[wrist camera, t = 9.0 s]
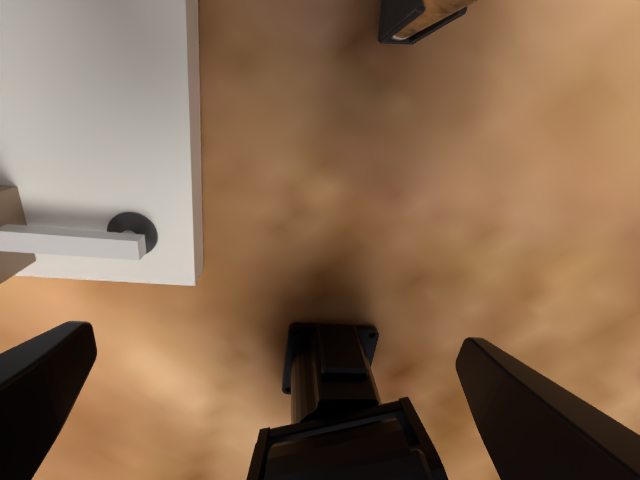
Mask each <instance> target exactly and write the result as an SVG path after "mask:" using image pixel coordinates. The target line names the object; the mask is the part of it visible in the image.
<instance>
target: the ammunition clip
mask: <svg viewBox="0 0 640 480" xmlns="http://www.w3.org/2000/svg"><path fill="white" fill-rule="evenodd" d="M475 1H477V0H382V2H381V14H380V26H379V38H378V41H379V42H380V43H393V44H414V43H416V42H417V41H419V40H421V39H422V38H424V37H426V36H428V35H429V34H431V33H433V32H434V31H436V30H438V29H439V28H441V27H443V26H445V25H446V24H448V23H450V22H452V21H453V20H455V19H457V18H459V17H460V16H462V15H464V14H465V13H466V11H467V6H468V5H470V4H472V3H474V2H475Z"/></svg>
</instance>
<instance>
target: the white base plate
mask: <svg viewBox="0 0 640 480" xmlns="http://www.w3.org/2000/svg"><path fill="white" fill-rule="evenodd" d="M203 269H204V267H203V218H202V170H201V121H200V73H199V24H198V0H0V284H1V283H2V282H4V281H6V280H7V279H9V278H10V277H12V276H13V275H14V276H31V277H48V278H66V279H83V280H101V281H118V282H136V283H153V284H171V285H188V286H195V285H196V283H197V281H198V279H199V277H200V275H201V273H202V271H203Z"/></svg>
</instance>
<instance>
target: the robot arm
mask: <svg viewBox="0 0 640 480" xmlns="http://www.w3.org/2000/svg"><path fill="white" fill-rule="evenodd" d="M293 330H298V331H296V332H295V331H293ZM370 333H373V334H370ZM378 336H379V333H378V330H377V328H375V327H373V326H355V325H332V324H309V323H293V324H291V325H290V326H289V329H288V338H287V347H286V356H285V365H284V374H283V383H282V391H283V393H285V394H291V424H290V425H286V426H281V427H276V428H272V429H270V427H268V428H264V429H260V432H259V436H258V440H257V443H256V444H255V448H254V452H253V456H252V460H251V464H250V468H249V472H248V476H247V480H448V477H447V475H446V472H445V469H444V467H443V464H442V462H441V460H440V457H439V455H438V453H437V451H436V449H435V447H434V445H433V443H432V441H431V439H430V438H429V436H428V434H427V432H426V430H425V428H424V426H423V424H422V422H421V420H420V419H419V417H418V415H417V413H416V411H415V409H414V407H413V405H412V403H411V401H410V400H409V398H408V397H404V398H400V399H399V401H394V402H390V403H385V404H382V403H381V400H380V397H379V393H378V390H377V387H376V384H375V380H374V377H373V374H372V371H371V364H372V360H373V356H374V352H375V348H376V344H377V340H378ZM96 356H97V347H96V342H95V337H94V332H93V327H92V325H91V324H90V323H89V322H83V321H68V322H65V323H63V324H61V325H59V326H57V327H55V328H53V329H51V330H49V331H47V332H45V333H43V334H40V335H38V336H36V337H34V338H32V339H30V340H28V341H26V342H24V343H22V344H20V345H18V346H16V347H13V348H11V349H9V350H7V351H5V352H3V353H1V354H0V480H31V479H32V478H33V476H34V474H35V473H36V471H37V470H38V468H39V466H40V465H41V463H42V461H43V460H44V458H45V456H46V455H47V453H48V452H49V450H50V448H51V447H52V445H53V443H54V442H55V440H56V438H57V436H58V435H59V433H60V431H61V429H62V428H63V426H64V424H65V422H66V420H67V418H68V416H69V414H70V412H71V410H72V408H73V406H74V403H75V401H76V399H77V397H78V395H79V393H80V391H81V389H82V387H83V385H84V383H85V381H86V379H87V377H88V375H89V373H90V371H91V368H92V366H93V364H94V362H95V360H96ZM456 371H457V374H458V376H459V379H460V382H461V385H462V388H463V390H464V393H465V396H466V399H467V401H468V404H469V407H470V410H471V413H472V415H473V418H474V421H475V423H476V426H477V429H478V431H479V433H480V435H481V438H482V440H483V442H484V444H485V447H486V449H487V451H488V453H489V455H490V457H491V459H492V462H493V464H494V466H495V468H496V470H497V472H498V475H499V477H500V479H501V480H640V435H638V434H637V433H635V432H634V431H632V430H630V429H629V428H627V427H626V426H624V425H622V424H621V423H619V422H617V421H616V420H614V419H613V418H611V417H609V416H608V415H606V414H605V413H603V412H601V411H600V410H598V409H596V408H595V407H593V406H592V405H590V404H588V403H587V402H585V401H584V400H582V399H580V398H579V397H577V396H575V395H574V394H572V393H571V392H569V391H567V390H566V389H564V388H563V387H561V386H559V385H558V384H556V383H555V382H553V381H551V380H550V379H548V378H546V377H545V376H543V375H542V374H540V373H538V372H537V371H535V370H534V369H532V368H530V367H529V366H527V365H525V364H524V363H522V362H521V361H519V360H517V359H516V358H514V357H513V356H511V355H509V354H508V353H506V352H504V351H503V350H501V349H500V348H498V347H496V346H495V345H493V344H492V343H490V342H488V341H487V340H485V339H483V338H475V337H468V338H466V339H465V340H464V342H463V344H462V347H461V349H460V352H459V354H458V357H457V359H456ZM288 387H289V388H288Z"/></svg>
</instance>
